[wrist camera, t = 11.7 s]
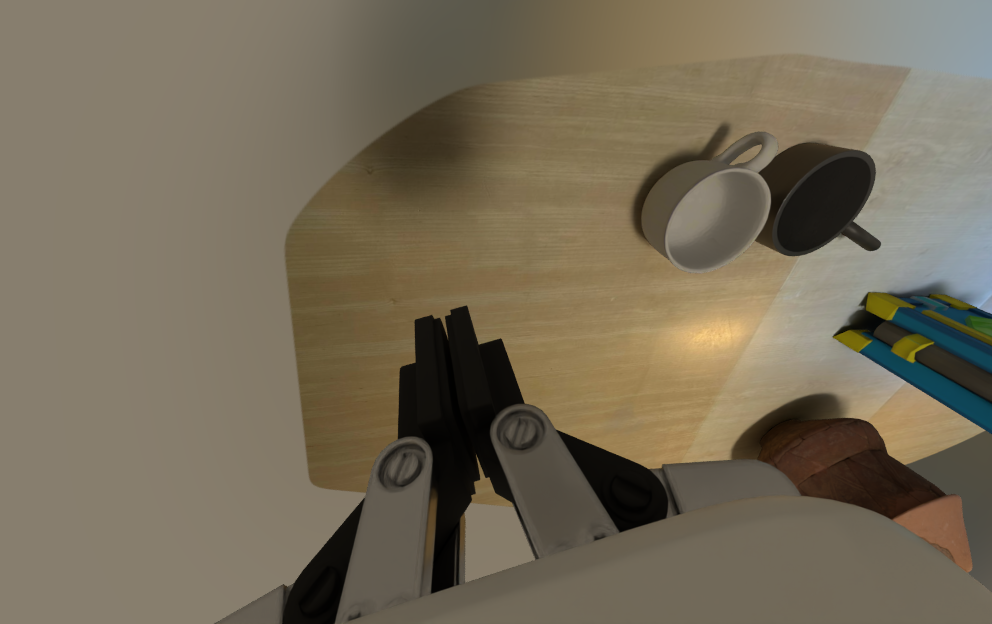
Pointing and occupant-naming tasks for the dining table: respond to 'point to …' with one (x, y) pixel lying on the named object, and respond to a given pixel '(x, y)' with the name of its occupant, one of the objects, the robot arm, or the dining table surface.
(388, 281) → the dining table surface
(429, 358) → the robot arm
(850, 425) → the pottery vessel
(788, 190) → the milk pan
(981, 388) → the decorative book
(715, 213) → the teacup
